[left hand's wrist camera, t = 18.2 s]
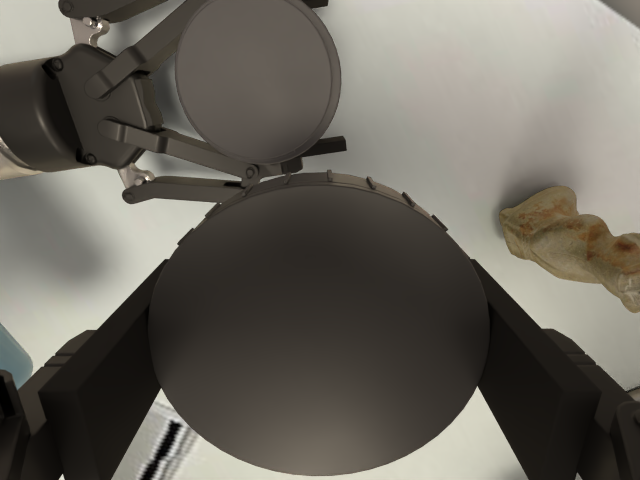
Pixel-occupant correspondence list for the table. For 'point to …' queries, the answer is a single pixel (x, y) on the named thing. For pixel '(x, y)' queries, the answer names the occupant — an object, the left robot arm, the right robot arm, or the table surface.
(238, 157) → the jar
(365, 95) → the table surface
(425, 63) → the table surface
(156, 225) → the table surface
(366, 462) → the lid
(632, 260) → the sculpture
